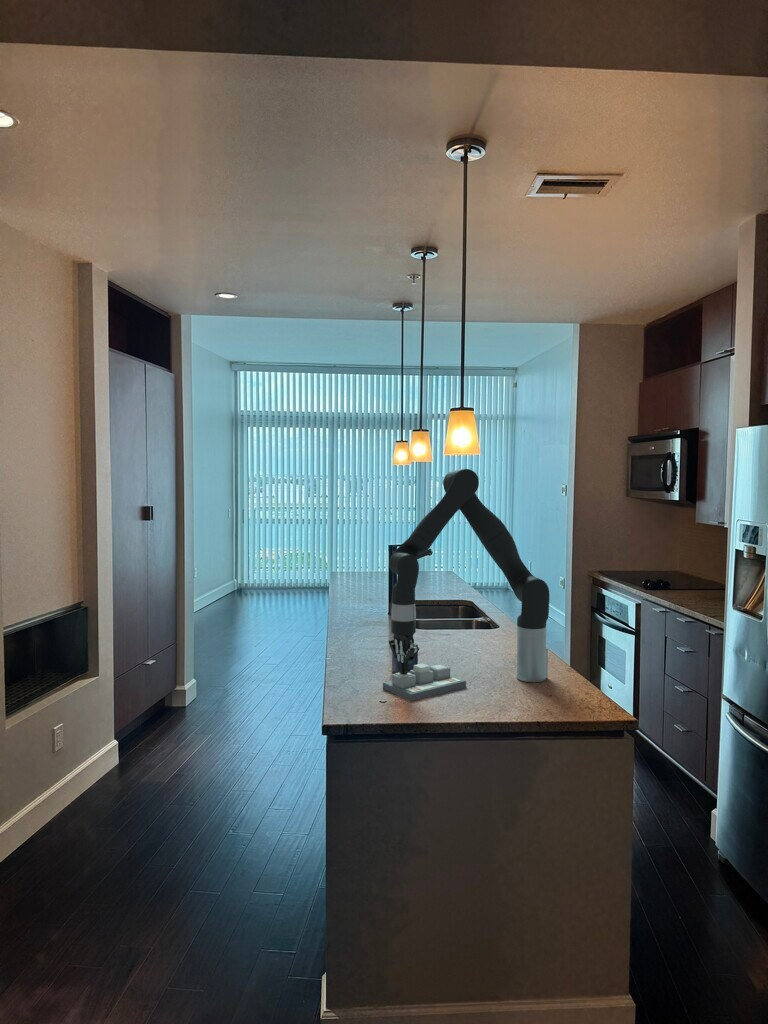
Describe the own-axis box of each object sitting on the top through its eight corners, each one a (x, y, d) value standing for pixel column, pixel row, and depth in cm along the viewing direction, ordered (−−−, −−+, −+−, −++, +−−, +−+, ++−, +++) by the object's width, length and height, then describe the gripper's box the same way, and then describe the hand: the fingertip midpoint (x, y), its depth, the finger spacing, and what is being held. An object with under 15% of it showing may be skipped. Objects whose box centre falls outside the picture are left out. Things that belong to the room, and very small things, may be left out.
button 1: (404, 680, 209) (404, 671, 208) (412, 683, 206) (412, 674, 205) (395, 682, 206) (395, 673, 206) (402, 685, 204) (402, 676, 203)
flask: (393, 673, 224) (393, 641, 224) (390, 671, 227) (390, 639, 227) (419, 671, 227) (419, 639, 227) (415, 668, 230) (415, 637, 230)
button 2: (439, 673, 217) (439, 664, 217) (446, 676, 214) (446, 667, 214) (430, 675, 215) (430, 666, 214) (438, 678, 212) (438, 669, 212)
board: (437, 676, 221) (437, 661, 221) (466, 687, 210) (466, 671, 210) (382, 688, 208) (382, 672, 208) (410, 701, 197) (410, 684, 197)
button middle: (422, 672, 213) (422, 663, 212) (429, 675, 210) (429, 665, 209) (413, 674, 210) (413, 665, 210) (420, 677, 208) (420, 667, 207)
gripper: (426, 620, 202) (426, 676, 203) (400, 612, 213) (400, 666, 213) (407, 623, 197) (406, 681, 198) (381, 615, 208) (381, 670, 209)
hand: (403, 673), depth 206 cm, fingers closed
